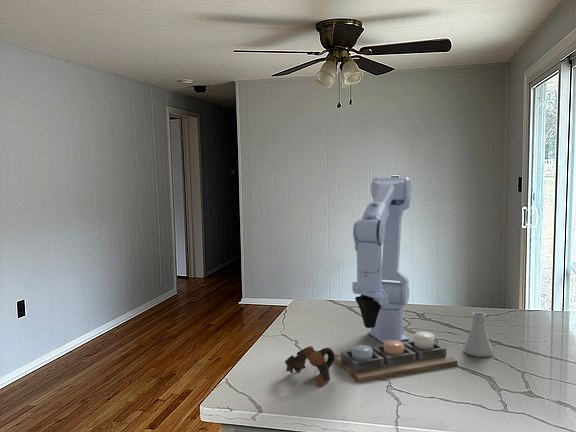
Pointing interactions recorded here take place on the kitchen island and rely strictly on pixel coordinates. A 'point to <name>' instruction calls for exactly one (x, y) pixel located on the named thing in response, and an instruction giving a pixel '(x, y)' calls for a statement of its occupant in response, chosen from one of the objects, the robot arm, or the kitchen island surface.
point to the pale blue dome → (361, 352)
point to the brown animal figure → (312, 362)
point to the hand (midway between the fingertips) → (369, 326)
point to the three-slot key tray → (394, 362)
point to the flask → (478, 338)
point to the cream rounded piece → (424, 341)
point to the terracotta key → (393, 347)
